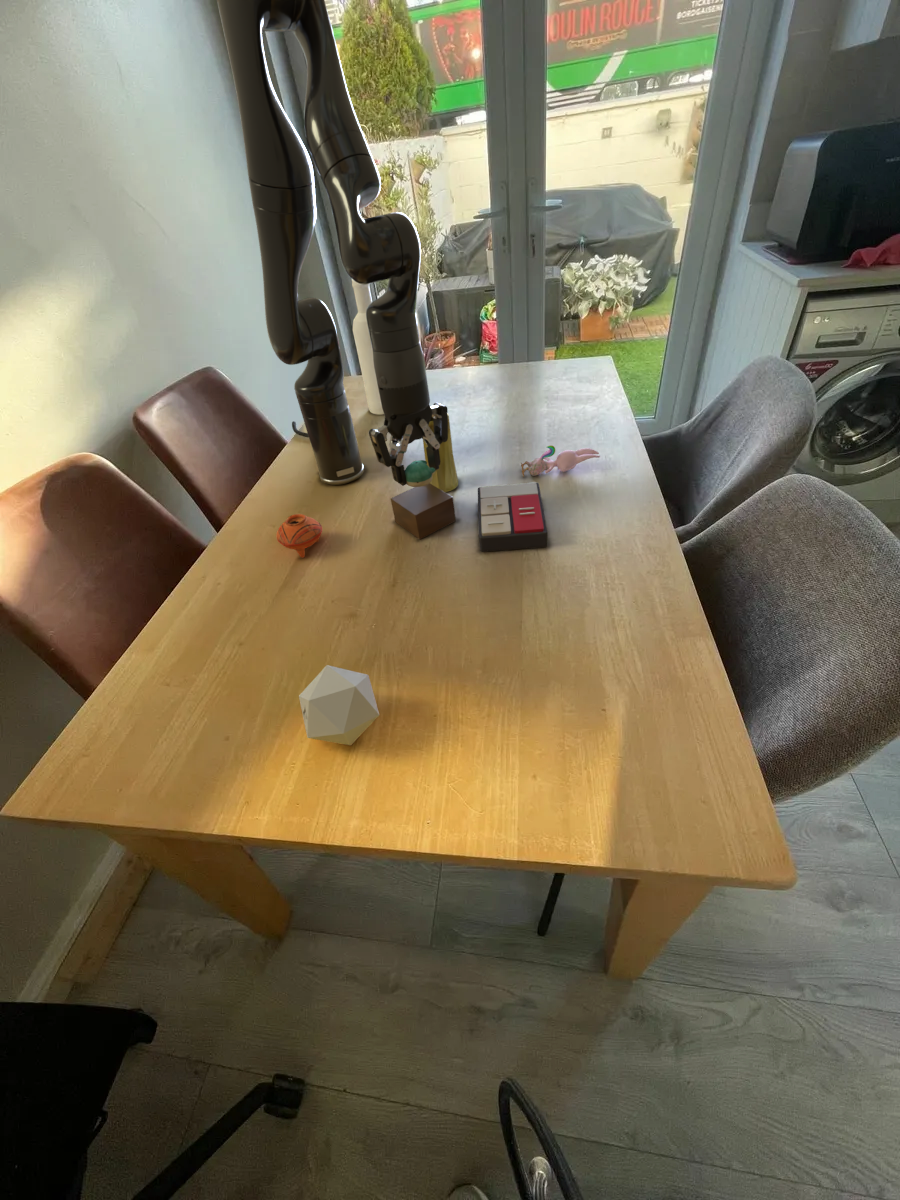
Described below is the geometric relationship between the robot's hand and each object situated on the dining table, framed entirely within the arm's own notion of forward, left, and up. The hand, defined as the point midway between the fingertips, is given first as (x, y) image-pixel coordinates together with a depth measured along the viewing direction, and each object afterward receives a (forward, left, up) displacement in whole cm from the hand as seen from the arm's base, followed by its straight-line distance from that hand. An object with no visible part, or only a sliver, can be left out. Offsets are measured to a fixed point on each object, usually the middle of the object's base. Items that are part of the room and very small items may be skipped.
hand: (418, 475), depth 94 cm
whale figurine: (0, 0, -1) cm, 1 cm away
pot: (-9, -20, -9) cm, 24 cm away
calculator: (+12, +10, -10) cm, 18 cm away
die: (+30, -33, -10) cm, 46 cm away
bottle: (-51, +23, -9) cm, 57 cm away
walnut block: (0, 0, -9) cm, 9 cm away
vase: (-8, +10, -9) cm, 16 cm away
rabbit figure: (+5, +29, -10) cm, 31 cm away
